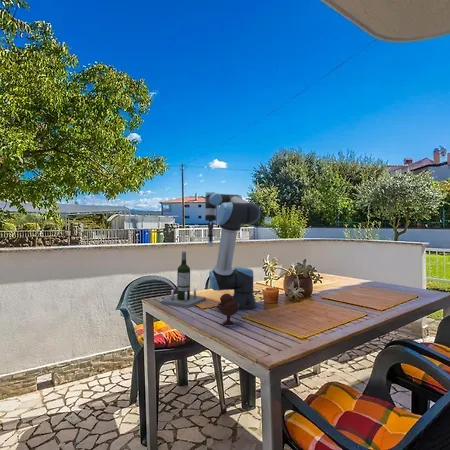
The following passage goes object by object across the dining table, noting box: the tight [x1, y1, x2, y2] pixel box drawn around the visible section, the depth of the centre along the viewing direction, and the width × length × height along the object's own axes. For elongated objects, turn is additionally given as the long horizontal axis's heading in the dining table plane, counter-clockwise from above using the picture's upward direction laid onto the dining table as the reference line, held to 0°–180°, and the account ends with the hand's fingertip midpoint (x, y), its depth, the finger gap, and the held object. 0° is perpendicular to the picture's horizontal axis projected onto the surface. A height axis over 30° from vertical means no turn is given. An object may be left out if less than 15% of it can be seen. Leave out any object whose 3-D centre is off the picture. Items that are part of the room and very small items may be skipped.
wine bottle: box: [176, 250, 191, 300], centre depth 184 cm, size 8×8×30 cm
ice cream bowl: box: [217, 293, 240, 326], centre depth 142 cm, size 11×11×15 cm
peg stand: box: [160, 288, 207, 309], centre depth 183 cm, size 20×20×8 cm
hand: (210, 245), depth 199 cm, fingers open, 13 cm apart
